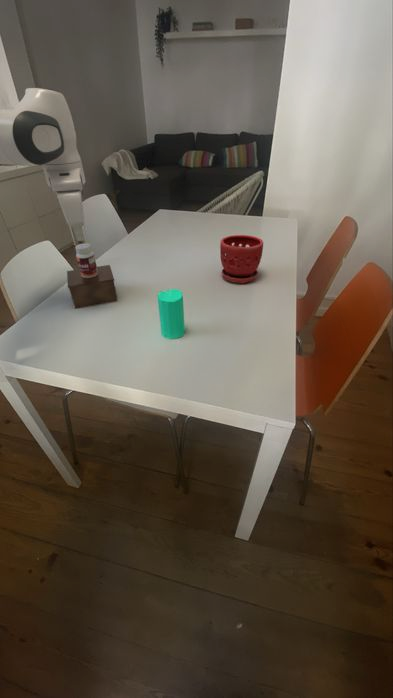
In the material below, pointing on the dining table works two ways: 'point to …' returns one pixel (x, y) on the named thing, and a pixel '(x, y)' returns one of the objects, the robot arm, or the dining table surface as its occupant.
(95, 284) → the walnut box
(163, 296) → the candle
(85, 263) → the pill bottle
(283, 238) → the dining table surface
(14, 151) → the robot arm
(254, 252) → the flower pot
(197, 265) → the dining table surface
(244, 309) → the dining table surface
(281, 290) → the dining table surface
